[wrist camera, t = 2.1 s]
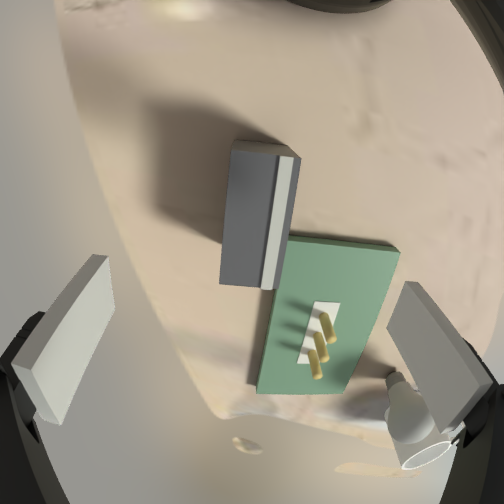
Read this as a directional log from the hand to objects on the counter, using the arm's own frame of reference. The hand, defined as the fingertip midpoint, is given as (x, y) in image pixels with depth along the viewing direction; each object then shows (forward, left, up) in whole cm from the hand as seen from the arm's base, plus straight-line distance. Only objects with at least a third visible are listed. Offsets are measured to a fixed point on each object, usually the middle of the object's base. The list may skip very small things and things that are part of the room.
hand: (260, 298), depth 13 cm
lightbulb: (+21, +21, -14) cm, 33 cm away
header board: (+13, +8, -14) cm, 21 cm away
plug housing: (0, 0, -14) cm, 14 cm away
